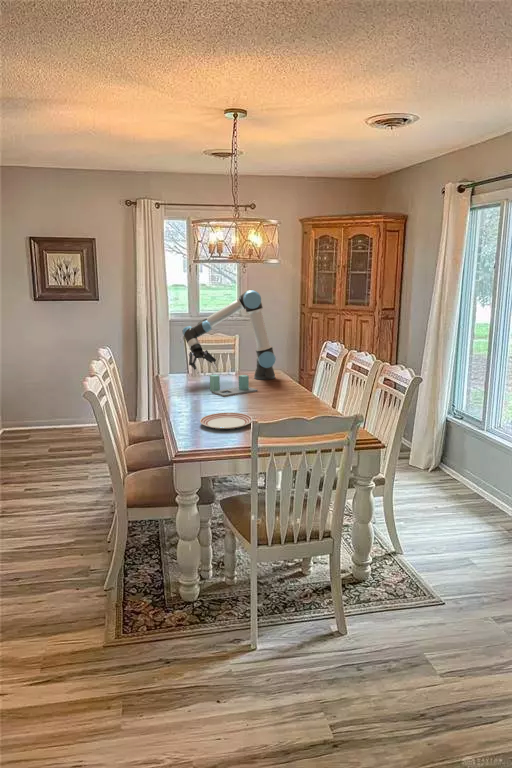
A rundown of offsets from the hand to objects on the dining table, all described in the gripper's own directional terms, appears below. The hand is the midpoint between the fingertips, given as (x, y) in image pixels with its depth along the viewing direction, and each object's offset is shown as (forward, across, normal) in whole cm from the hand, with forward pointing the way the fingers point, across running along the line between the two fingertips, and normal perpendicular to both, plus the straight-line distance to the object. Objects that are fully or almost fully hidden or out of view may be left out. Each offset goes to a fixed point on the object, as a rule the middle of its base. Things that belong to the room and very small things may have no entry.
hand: (207, 371), depth 393 cm
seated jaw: (+22, -15, +6) cm, 28 cm away
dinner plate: (+65, +39, +49) cm, 91 cm away
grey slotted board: (+22, -8, +6) cm, 25 cm away
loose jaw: (+13, -1, -3) cm, 14 cm away
